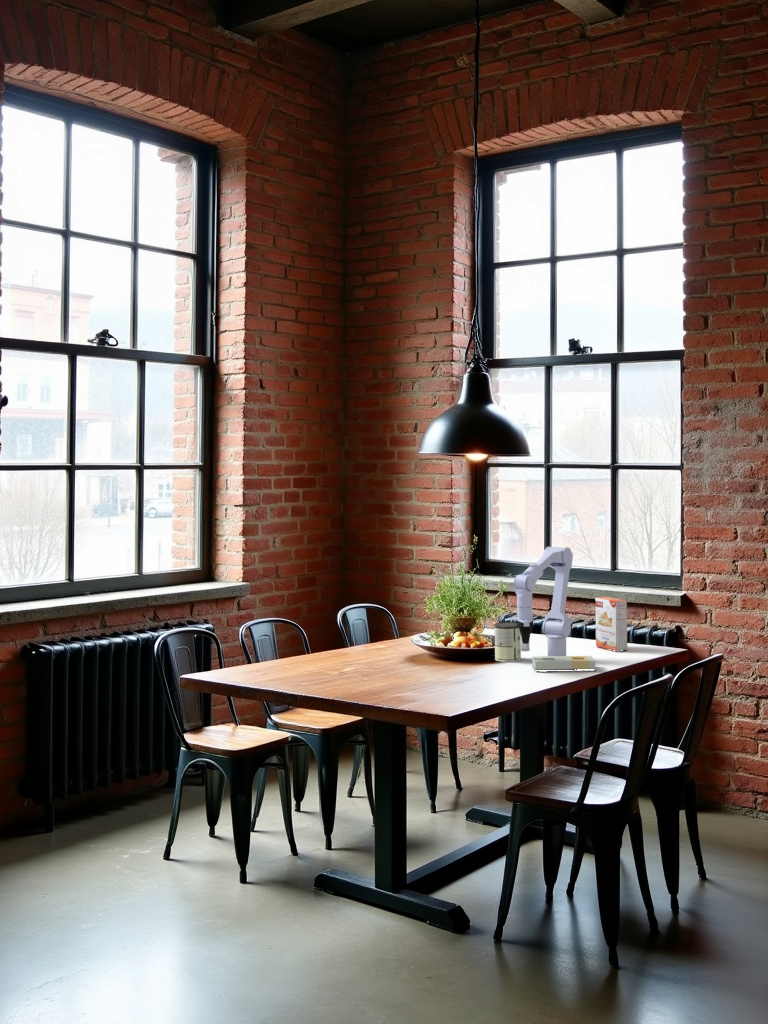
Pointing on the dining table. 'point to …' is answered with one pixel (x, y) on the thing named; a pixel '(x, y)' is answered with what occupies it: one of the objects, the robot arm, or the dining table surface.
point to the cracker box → (611, 623)
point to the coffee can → (507, 642)
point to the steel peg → (524, 646)
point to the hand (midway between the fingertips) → (525, 642)
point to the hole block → (563, 662)
